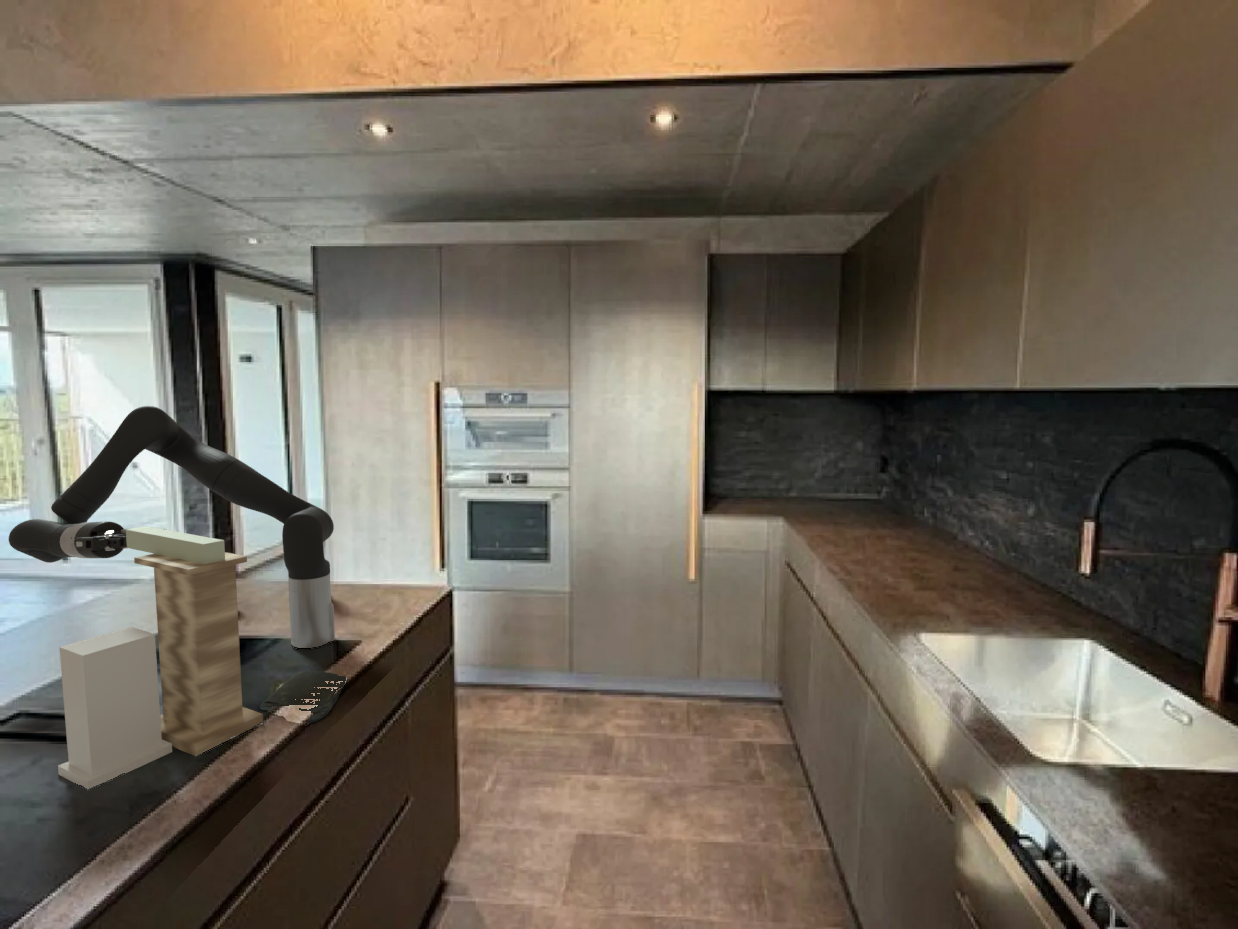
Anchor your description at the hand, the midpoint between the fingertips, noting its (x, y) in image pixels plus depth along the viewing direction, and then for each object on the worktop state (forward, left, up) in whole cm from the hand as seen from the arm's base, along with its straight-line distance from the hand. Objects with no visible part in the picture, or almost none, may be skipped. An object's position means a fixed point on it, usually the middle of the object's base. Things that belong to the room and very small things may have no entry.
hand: (148, 539), depth 125 cm
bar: (-3, +17, 0) cm, 17 cm away
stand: (-5, +21, -32) cm, 39 cm away
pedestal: (+7, +26, -32) cm, 42 cm away
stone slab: (-23, +20, -33) cm, 45 cm away
